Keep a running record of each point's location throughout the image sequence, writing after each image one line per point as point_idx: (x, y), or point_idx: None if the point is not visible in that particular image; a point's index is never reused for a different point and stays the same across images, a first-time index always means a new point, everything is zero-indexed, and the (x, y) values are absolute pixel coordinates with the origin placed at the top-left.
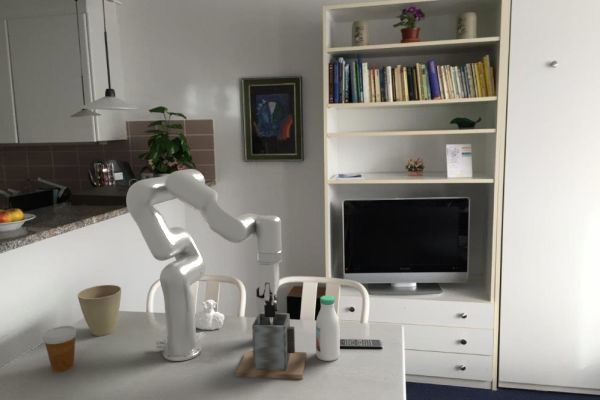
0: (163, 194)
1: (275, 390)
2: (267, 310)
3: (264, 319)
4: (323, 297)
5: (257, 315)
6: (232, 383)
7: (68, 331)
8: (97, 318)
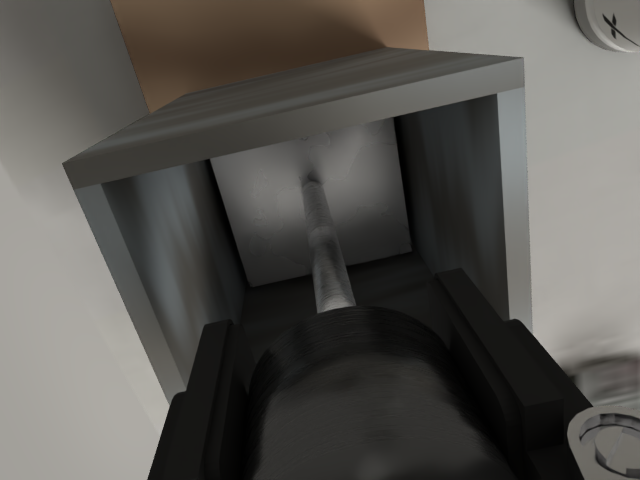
0: None
1: (95, 260)
2: (160, 459)
3: (469, 136)
4: None
5: (423, 81)
6: (40, 3)
7: None
8: None
